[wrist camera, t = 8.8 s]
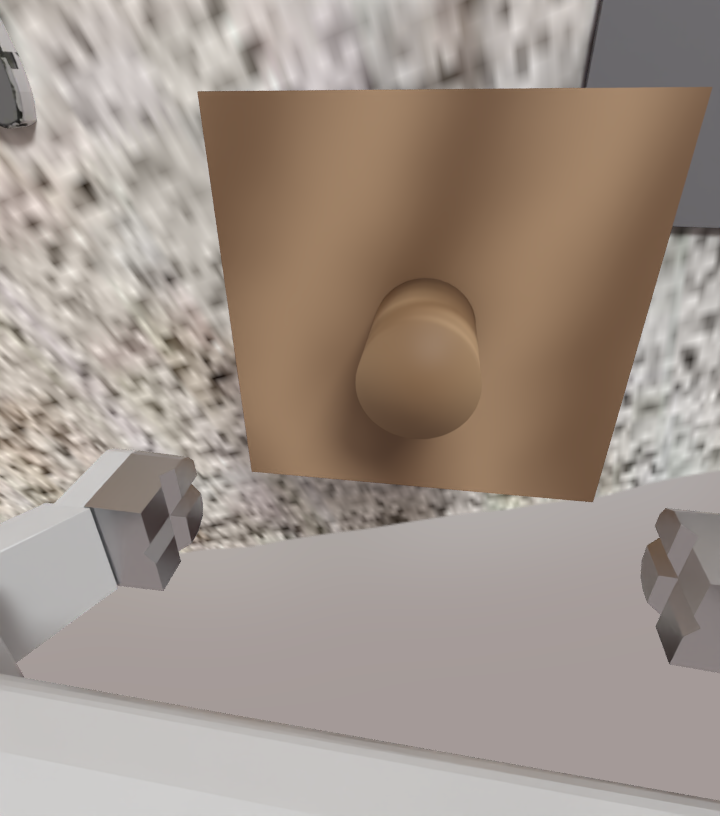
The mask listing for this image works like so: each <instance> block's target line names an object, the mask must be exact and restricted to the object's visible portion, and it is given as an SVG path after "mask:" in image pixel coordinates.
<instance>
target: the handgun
mask: <svg viewBox="0 0 720 816" xmlns="http://www.w3.org/2000/svg"><path fill="white" fill-rule="evenodd" d="M36 121H37V117H36V109H35V103H34V98H33V93H32V90H31V87H30V84H29V81H28V78H27V75H26V72H25V70H24V67H23V65H22V62H21V60H20V57H19V55H18V53H17V51H16V48H15V46H14V44H13V42H12V40H11V38H10V36H9V34H8V32H7V30H6V28H5V26H4V25H3V23H2V21H1V19H0V126H2V127H5V128H18V127H27V126H30V125H32V124H33V123H35V122H36Z"/></svg>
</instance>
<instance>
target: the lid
mask: <svg viewBox="0 0 720 816" xmlns="http://www.w3.org/2000/svg"><path fill="white" fill-rule="evenodd" d="M711 91H712V87H640V88H529V89H419V90H308V91H198V99H199V106H200V113H201V120H202V127H203V134H204V141H205V148H206V155H207V162H208V169H209V176H210V183H211V190H212V197H213V204H214V211H215V218H216V225H217V232H218V239H219V246H220V253H221V259H222V266H223V273H224V280H225V287H226V294H227V301H228V308H229V315H230V322H231V329H232V336H233V343H234V350H235V357H236V364H237V371H238V378H239V385H240V392H241V399H242V406H243V413H244V420H245V427H246V434H247V441H248V448H249V455H250V462H251V469H252V472H263V473H274V474H285V475H296V476H307V477H318V478H329V479H341V480H352V481H363V482H374V483H385V484H396V485H407V486H418V487H430V488H441V489H452V490H463V491H474V492H485V493H496V494H508V495H519V496H530V497H541V498H552V499H563V500H574V501H585V502H593V500H594V497H595V493H596V490H597V486H598V483H599V479H600V476H601V472H602V469H603V465H604V462H605V458H606V455H607V451H608V448H609V445H610V441H611V438H612V434H613V431H614V427H615V424H616V420H617V417H618V413H619V410H620V406H621V403H622V399H623V396H624V393H625V389H626V386H627V382H628V379H629V375H630V372H631V368H632V365H633V361H634V358H635V354H636V351H637V347H638V344H639V341H640V337H641V334H642V330H643V327H644V323H645V320H646V316H647V313H648V309H649V306H650V302H651V299H652V295H653V292H654V289H655V285H656V282H657V278H658V275H659V271H660V268H661V264H662V261H663V257H664V254H665V250H666V247H667V243H668V240H669V237H670V233H671V230H672V226H673V223H674V219H675V216H676V212H677V209H678V205H679V202H680V198H681V195H682V191H683V188H684V185H685V181H686V178H687V174H688V171H689V167H690V164H691V160H692V157H693V153H694V150H695V146H696V143H697V139H698V136H699V133H700V129H701V126H702V122H703V119H704V115H705V112H706V108H707V105H708V101H709V98H710V94H711Z"/></svg>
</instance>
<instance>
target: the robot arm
mask: <svg viewBox="0 0 720 816" xmlns="http://www.w3.org/2000/svg"><path fill="white" fill-rule="evenodd" d="M196 476H197V473H196V469H195V465H194V461H193V460H191V459H190V458H188V457H184V456H177V455H169V454H161V453H154V452H146V451H135V450H127V449H119V448H113V449H109V450H106V451H105V452H104V453H103V454H102V455H101V456H100V457H99V458H98V459H97V460H96V461H95V462H94V463H93V464H92V466H91V467H90V468H89V469H88V470H87V471H86V472H85V473H84V474H83V475H82V476H81V477H80V478H79V479H78V480H77V481H76V482H75V483H74V484H73V485H72V486H71V487H70V488H69V489H68V490H67V491H66V492H65V493H64V494H63V495H62V496H61V497H60V498H59V499H58V500H57V501H56V502H55V503H54V504H50V503H44V504H42V505H40V506H38V507H35V508H33V509H31V510H29V511H26V512H24V513H22V514H20V515H17V516H15V517H13V518H11V519H8V520H6V521H4V522H2V523H0V816H720V801H719V800H713V799H708V798H701V797H696V796H691V795H685V794H679V793H674V792H668V791H662V790H657V789H651V788H645V787H640V786H634V785H628V784H623V783H617V782H610V781H605V780H600V779H594V778H588V777H583V776H577V775H571V774H566V773H560V772H554V771H548V770H542V769H537V768H532V767H526V766H520V765H515V764H509V763H504V762H497V761H492V760H486V759H480V758H475V757H469V756H463V755H458V754H452V753H446V752H441V751H435V750H430V749H424V748H418V747H413V746H407V745H401V744H396V743H390V742H384V741H379V740H373V739H367V738H362V737H356V736H350V735H344V734H339V733H333V732H327V731H322V730H316V729H311V728H305V727H299V726H294V725H288V724H282V723H277V722H271V721H265V720H260V719H254V718H248V717H243V716H236V715H232V714H226V713H220V712H215V711H209V710H203V709H198V708H192V707H186V706H180V705H175V704H169V703H164V702H158V701H152V700H147V699H141V698H135V697H130V696H124V695H118V694H113V693H107V692H102V691H96V690H90V689H84V688H79V687H73V686H67V685H61V684H56V683H51V682H45V681H39V680H34V679H28V678H24V676H23V674H22V672H21V671H20V669H19V667H18V666H17V664H16V663H17V662H18V661H19V660H21V659H22V658H23V657H25V656H26V655H28V654H29V653H30V652H32V651H33V650H34V649H36V648H37V647H38V646H40V645H41V644H43V643H44V642H45V641H47V640H48V639H49V638H51V637H52V636H53V635H55V634H56V633H58V632H59V631H60V630H61V629H63V628H64V627H66V626H67V625H68V624H70V623H71V622H73V621H74V620H75V619H77V618H78V617H79V616H81V615H82V614H84V613H85V612H86V611H87V610H89V609H90V608H92V607H93V606H94V605H96V604H97V603H99V602H100V601H101V600H103V599H104V598H105V597H106V596H108V595H109V594H111V593H112V592H113V591H115V590H116V589H117V588H118V586H126V587H135V588H143V589H152V590H161V591H164V589H165V587H166V585H167V584H168V582H169V581H170V578H171V577H172V576H173V574H174V572H175V571H176V569H177V567H178V566H179V564H180V562H181V560H180V556H179V552H178V551H180V550H181V549H183V548H184V547H186V546H188V545H189V544H191V543H192V542H193V540H194V538H195V536H196V535H197V533H198V531H199V527H200V524H201V520H202V516H203V502H202V497H201V493H200V492H199V491H198V490H197V489H196V488H195V487H194V486H193V485H192V484H191V483H192V482H193V480H194V479H195V477H196ZM655 527H656V530H657V532H658V534H659V537H660V538H658V539H657V540H655V541H654V542H652V543H650V544H649V545H647V547H646V550H645V553H644V555H643V558H642V564H641V565H642V566H641V581H642V588H643V592H644V595H645V598H646V600H647V603H648V604H649V605H650V606H652V607H653V608H654V609H655V610H656V611H657V612H658V613H659V614H660V618H659V620H658V622H657V624H656V629H657V631H658V634H659V637H660V640H661V642H662V645H663V648H664V651H665V654H666V656H667V659H668V662H669V664H670V665H676V666H682V667H689V668H694V669H700V670H706V671H711V672H717V673H720V514H719V513H710V512H700V511H690V510H680V509H670V508H665V510H663V512H662V513H661V514H660V515H659V517H658V520H657V522H656V524H655Z"/></svg>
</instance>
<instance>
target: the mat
mask: <svg viewBox="0 0 720 816" xmlns="http://www.w3.org/2000/svg"><path fill="white" fill-rule="evenodd" d="M640 87H712V91H711V94H710V98H709V101H708V105H707V108H706V112H705V115H704V119H703V122H702V126H701V129H700V133H699V136H698V139H697V143H696V146H695V150H694V153H693V157H692V160H691V164H690V167H689V171H688V174H687V178H686V181H685V185H684V188H683V191H682V195H681V198H680V202H679V205H678V209H677V212H676V216H675V219H674V223H673V226H679V227H709V228H720V0H601V4H600V9H599V15H598V20H597V25H596V30H595V36H594V41H593V46H592V51H591V57H590V62H589V67H588V72H587V78H586V83H585V88H640Z"/></svg>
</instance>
